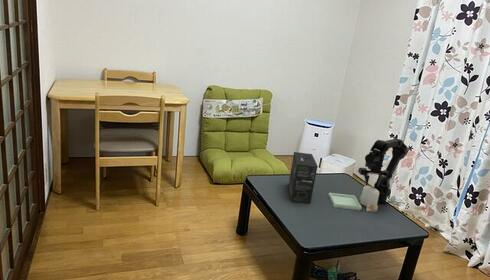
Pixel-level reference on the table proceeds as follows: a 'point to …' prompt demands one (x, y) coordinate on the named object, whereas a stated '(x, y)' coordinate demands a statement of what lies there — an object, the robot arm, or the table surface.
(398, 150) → the robot arm
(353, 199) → the tray
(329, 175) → the table surface
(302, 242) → the table surface
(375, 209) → the holder
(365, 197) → the photo printer
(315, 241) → the table surface
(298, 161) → the headset box
